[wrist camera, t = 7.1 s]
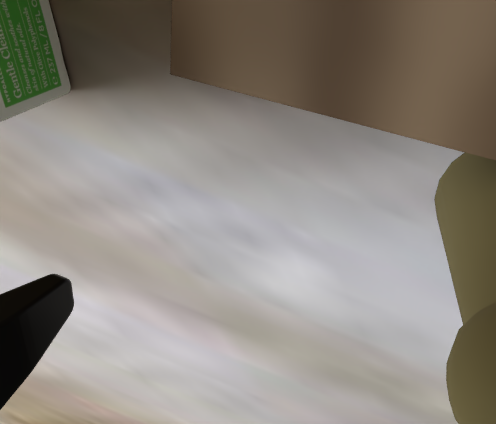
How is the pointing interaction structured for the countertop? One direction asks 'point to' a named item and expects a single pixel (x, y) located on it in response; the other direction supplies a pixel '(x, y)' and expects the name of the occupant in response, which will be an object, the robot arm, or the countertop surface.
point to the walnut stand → (353, 61)
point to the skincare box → (29, 57)
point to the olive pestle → (471, 283)
